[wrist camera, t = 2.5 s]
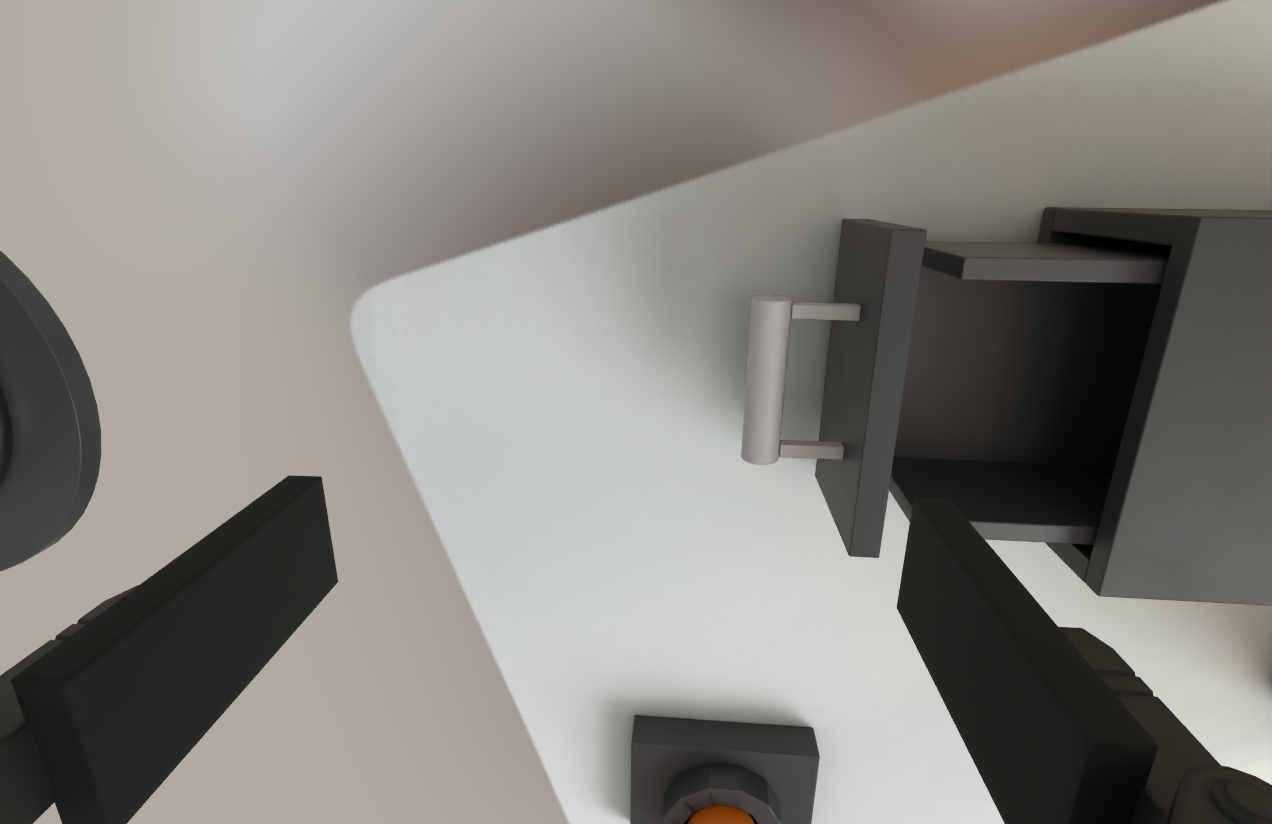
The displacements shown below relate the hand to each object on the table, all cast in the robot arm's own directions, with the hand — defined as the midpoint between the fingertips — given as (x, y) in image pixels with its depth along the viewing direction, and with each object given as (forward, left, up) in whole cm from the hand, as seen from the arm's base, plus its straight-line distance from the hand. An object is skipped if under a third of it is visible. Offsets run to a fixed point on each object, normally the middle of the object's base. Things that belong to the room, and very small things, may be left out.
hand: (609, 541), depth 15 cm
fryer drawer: (+11, +9, -19) cm, 24 cm away
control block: (+22, -19, -20) cm, 35 cm away
